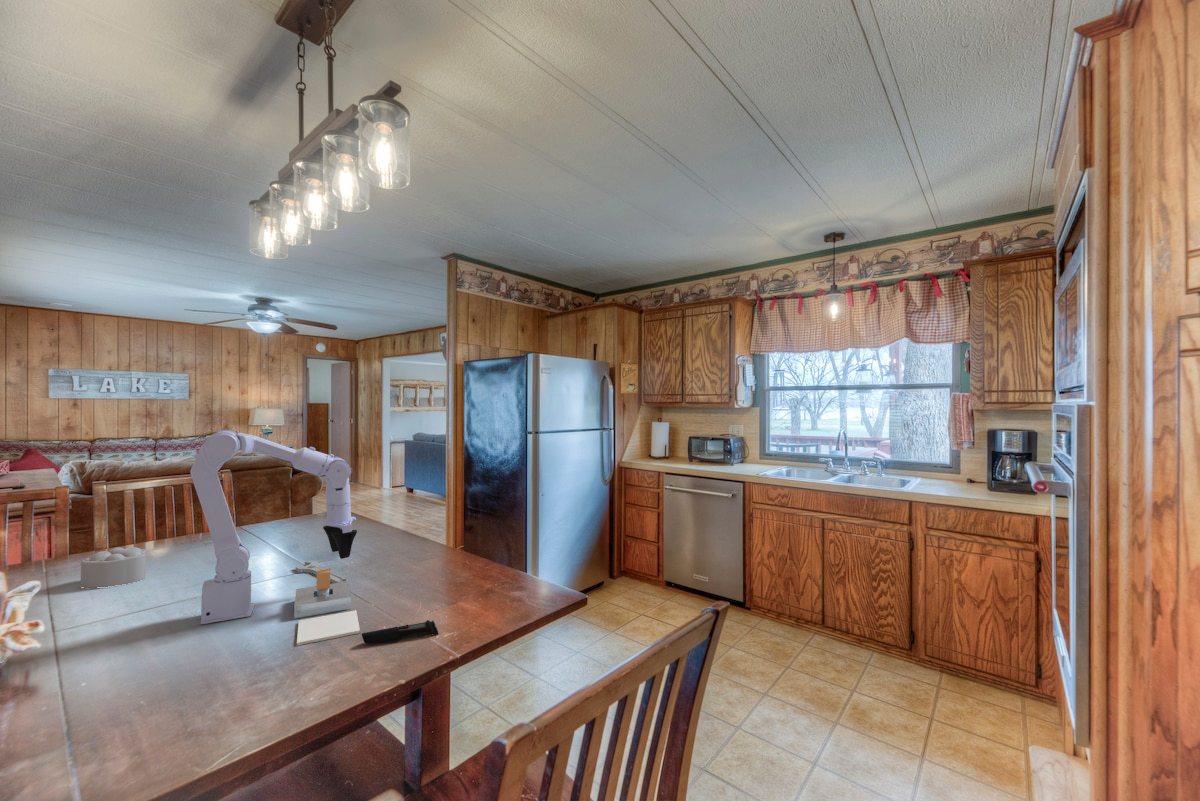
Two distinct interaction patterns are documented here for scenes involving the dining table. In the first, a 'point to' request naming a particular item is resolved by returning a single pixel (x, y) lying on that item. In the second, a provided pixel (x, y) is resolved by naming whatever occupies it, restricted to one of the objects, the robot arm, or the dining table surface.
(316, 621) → the mat
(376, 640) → the electric trimmer
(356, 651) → the dining table surface
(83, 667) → the dining table surface
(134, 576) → the egg container
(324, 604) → the socket block
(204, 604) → the robot arm
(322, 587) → the key
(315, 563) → the adjustable wrench
